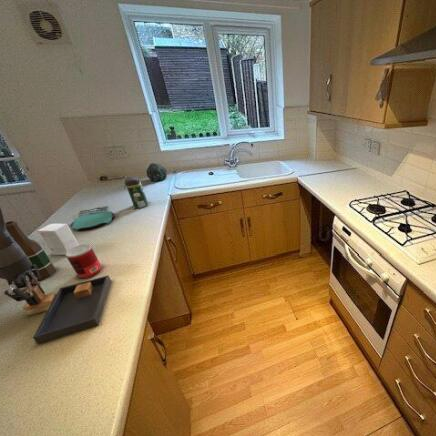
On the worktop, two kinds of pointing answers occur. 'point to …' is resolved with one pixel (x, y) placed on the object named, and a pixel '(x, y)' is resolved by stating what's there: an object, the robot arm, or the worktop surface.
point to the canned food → (84, 261)
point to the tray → (73, 311)
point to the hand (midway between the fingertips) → (38, 299)
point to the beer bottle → (31, 250)
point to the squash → (156, 172)
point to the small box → (58, 238)
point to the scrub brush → (43, 300)
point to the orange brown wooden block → (83, 290)
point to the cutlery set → (92, 218)
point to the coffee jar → (136, 192)
